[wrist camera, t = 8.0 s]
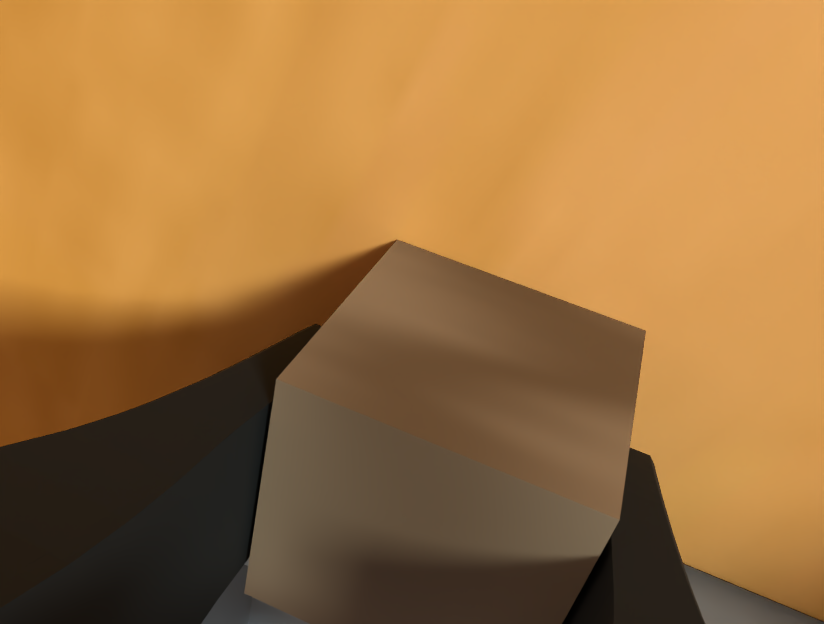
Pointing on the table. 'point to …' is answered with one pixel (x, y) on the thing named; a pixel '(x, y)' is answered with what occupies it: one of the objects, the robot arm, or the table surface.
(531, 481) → the walnut cube
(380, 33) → the table surface
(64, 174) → the table surface
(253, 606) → the serving tray
